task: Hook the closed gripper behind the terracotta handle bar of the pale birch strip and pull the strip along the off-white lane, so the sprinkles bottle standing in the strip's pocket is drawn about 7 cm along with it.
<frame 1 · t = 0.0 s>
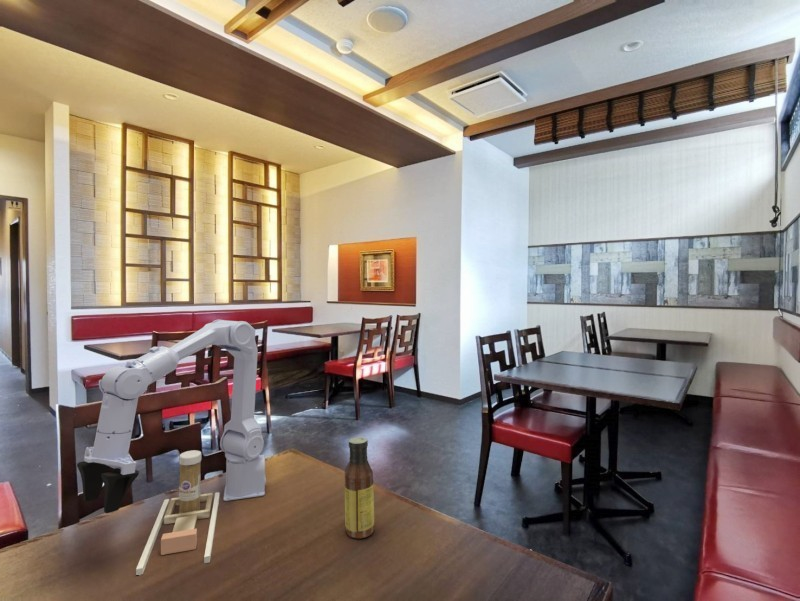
hand: (100, 505, 77), 11 cm above the table, tool pointing down, fingers open, 7 cm apart
sprinkles bottle: (189, 512, 95), resting in sliding strip
sauce bottle: (358, 532, 88), on the table
sliding strip: (186, 517, 90), point 2 cm above the table, slide at 0.0 cm
lane rails: (184, 530, 88), on the table
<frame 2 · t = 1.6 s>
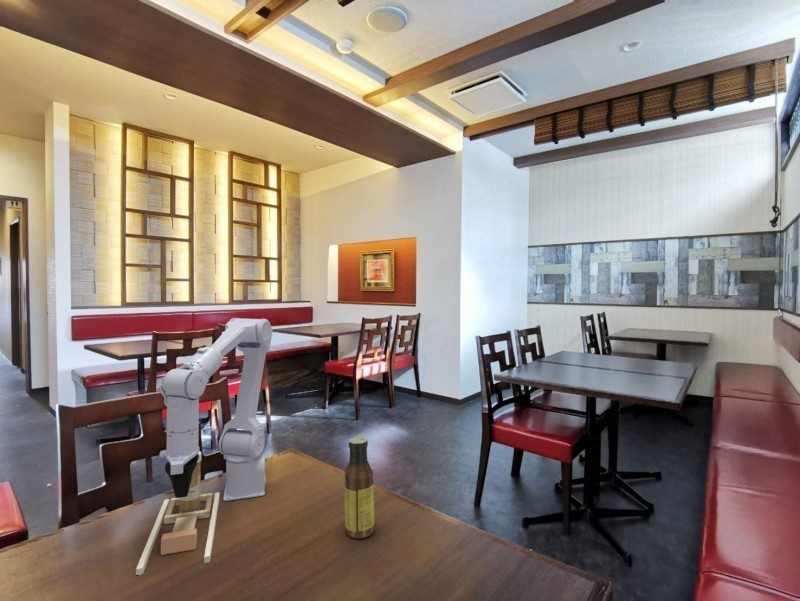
hand: (182, 495, 84), 9 cm above the table, tool pointing down, fingers closed
nothing on the table moved.
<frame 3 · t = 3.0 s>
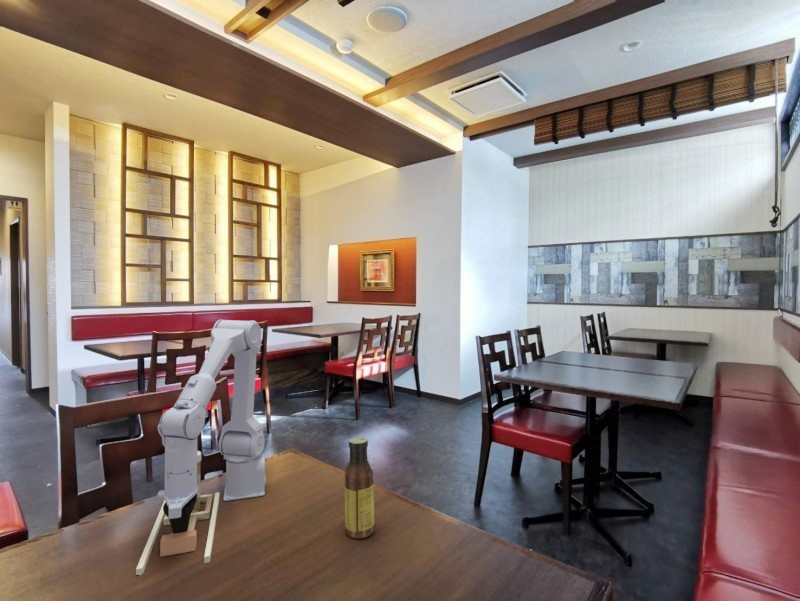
hand: (180, 535, 82), 2 cm above the table, tool pointing down, fingers closed
sliding strip: (185, 518, 89), point 2 cm above the table, slide at 0.5 cm, touching gripper
everything else where it was.
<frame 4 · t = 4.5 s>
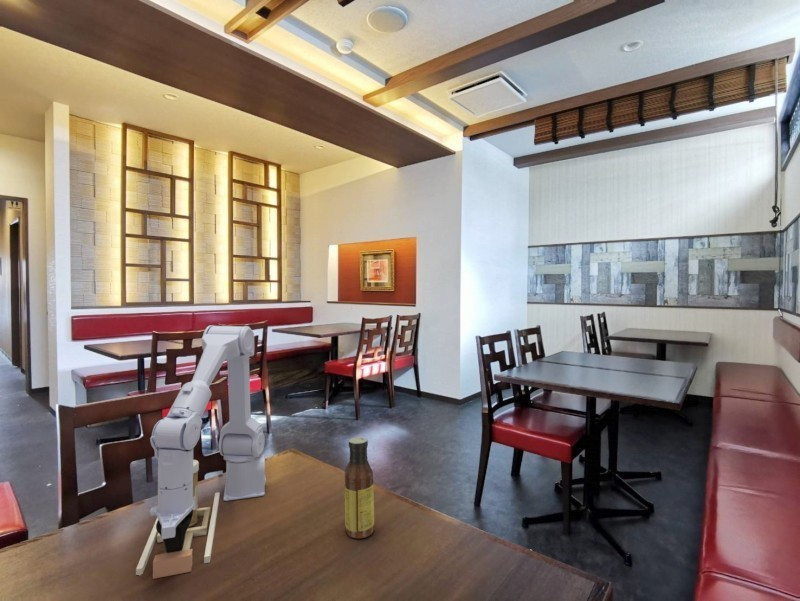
hand: (174, 555, 76), 2 cm above the table, tool pointing down, fingers closed
sprinkles bottle: (186, 524, 90), resting in sliding strip
sliding strip: (181, 534, 83), point 2 cm above the table, slide at 6.9 cm, touching gripper, sprinkles bottle
everything else where it was.
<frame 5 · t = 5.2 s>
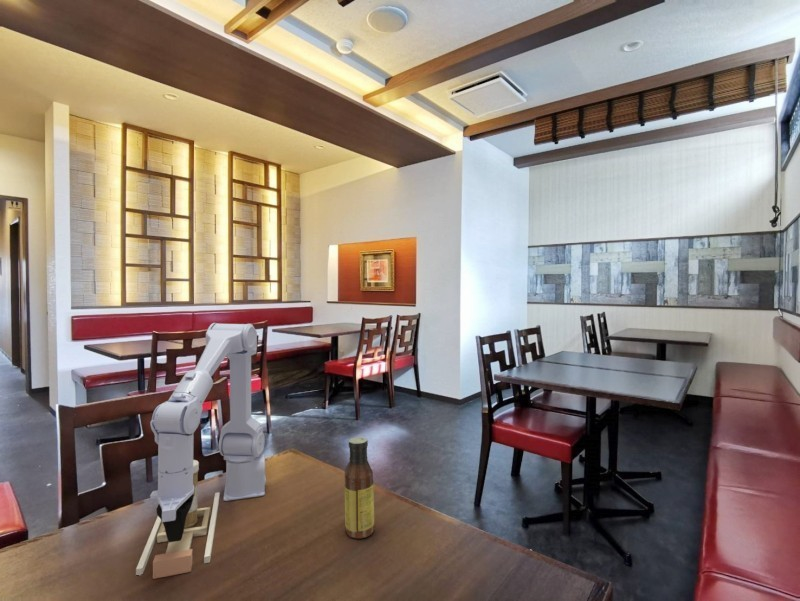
hand: (175, 539, 76), 5 cm above the table, tool pointing down, fingers closed
sprinkles bottle: (186, 525, 90), resting in sliding strip
sliding strip: (181, 534, 83), point 2 cm above the table, slide at 6.9 cm
everything else where it was.
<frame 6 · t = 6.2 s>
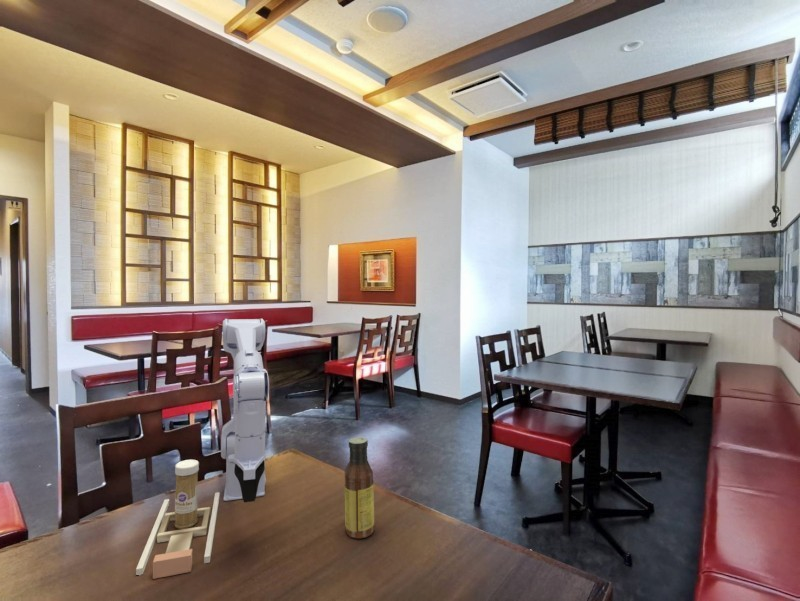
hand: (249, 500, 82), 9 cm above the table, tool pointing down, fingers closed
nothing on the table moved.
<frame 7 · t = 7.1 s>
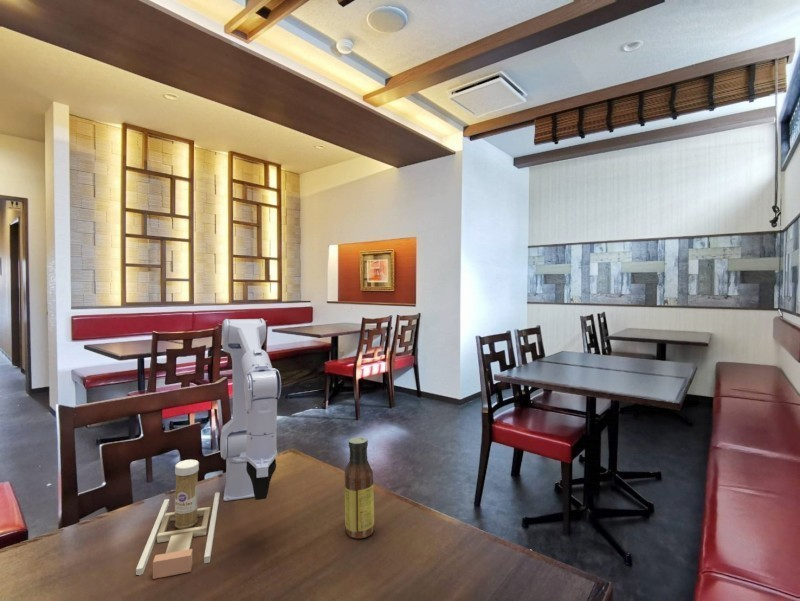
hand: (260, 497, 83), 9 cm above the table, tool pointing down, fingers closed
nothing on the table moved.
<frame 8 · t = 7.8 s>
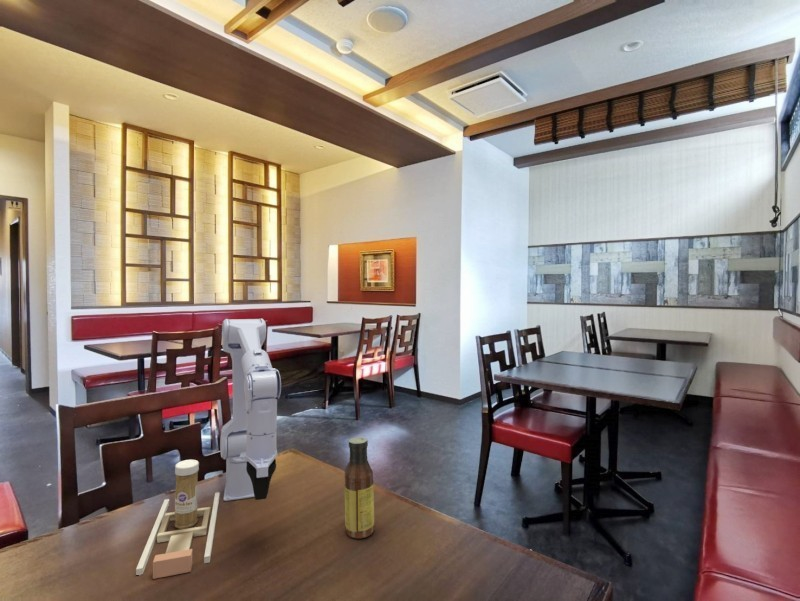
hand: (260, 497, 83), 9 cm above the table, tool pointing down, fingers closed
nothing on the table moved.
at the end: sliding strip slide at 6.9 cm; sprinkles bottle 1.9 cm from the target spot, resting in sliding strip; sprinkles bottle tilted 0° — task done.
